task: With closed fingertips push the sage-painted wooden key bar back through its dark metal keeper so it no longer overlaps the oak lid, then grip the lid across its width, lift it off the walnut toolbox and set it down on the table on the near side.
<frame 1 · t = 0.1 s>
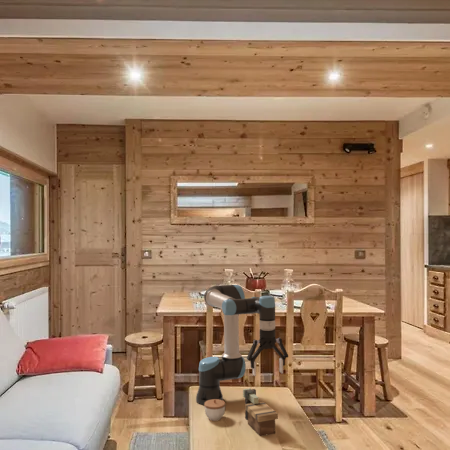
hand: (267, 373, 207), 28 cm above the table, fingers open, 13 cm apart
keeper: (250, 418, 223), on the table
lid: (261, 413, 212), point 7 cm above the table, touching toolbox
lidded jar: (214, 418, 224), on the table
toolbox: (261, 428, 211), on the table
key: (251, 396, 223), point 11 cm above the table, slide at 0.0 cm
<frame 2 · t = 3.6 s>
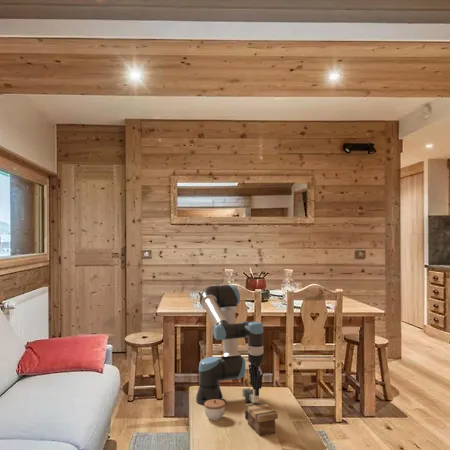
hand: (256, 401, 217), 11 cm above the table, fingers closed
key: (250, 395, 223), point 11 cm above the table, slide at 0.9 cm, touching gripper
everything else where it was.
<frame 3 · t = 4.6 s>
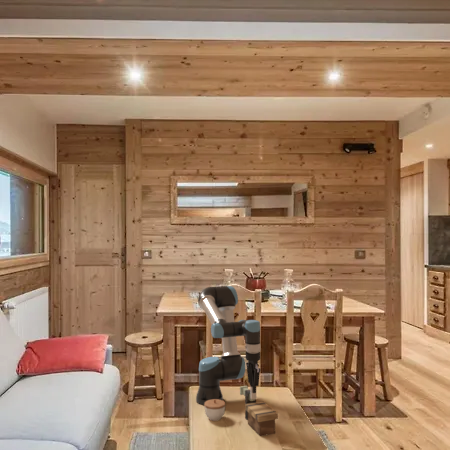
hand: (253, 398, 220), 11 cm above the table, fingers closed
key: (248, 393, 227), point 11 cm above the table, slide at 4.2 cm, touching gripper
everything else where it was.
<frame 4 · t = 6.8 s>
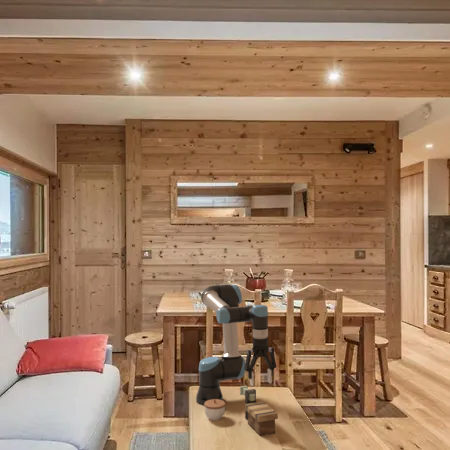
hand: (260, 383, 212), 21 cm above the table, fingers open, 9 cm apart
key: (248, 393, 227), point 11 cm above the table, slide at 4.2 cm
everything else where it was.
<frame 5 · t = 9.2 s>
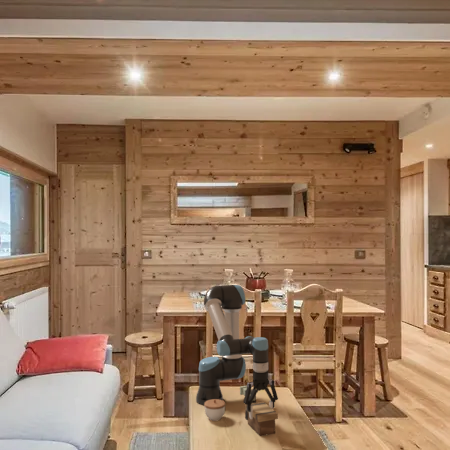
hand: (261, 416, 212), 6 cm above the table, fingers closed on lid, 10 cm apart
lid: (261, 413, 212), point 7 cm above the table, touching gripper, toolbox
everything else where it was.
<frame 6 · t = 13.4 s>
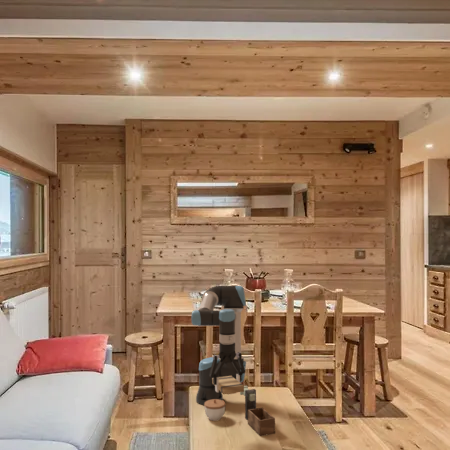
hand: (227, 389, 206), 21 cm above the table, fingers closed on lid, 10 cm apart
lid: (227, 387, 206), point 22 cm above the table, touching gripper
everything else where it was.
when the fingers open (0 cm above the table, at t = 17.5 s): lid stays where it is, point 1 cm above the table.
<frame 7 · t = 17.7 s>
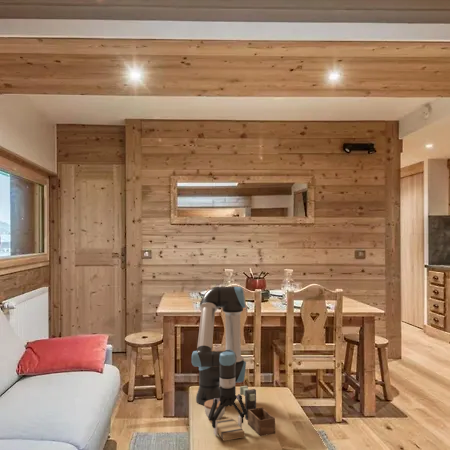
hand: (227, 432, 206), 1 cm above the table, fingers open, 12 cm apart
lid: (227, 431, 206), point 1 cm above the table
everything else where it was.
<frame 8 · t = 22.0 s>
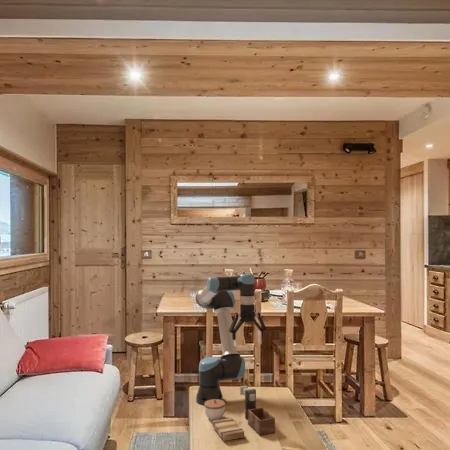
hand: (247, 344, 227), 37 cm above the table, fingers open, 13 cm apart
nothing on the table moved.
at the end: key slide at 4.2 cm; lid inside the target area (0.5 cm from its centre), point 1.2 cm above the table; lid tilted 0° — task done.
